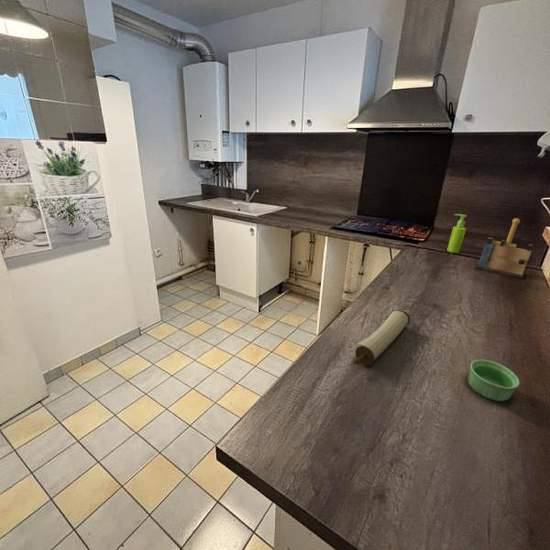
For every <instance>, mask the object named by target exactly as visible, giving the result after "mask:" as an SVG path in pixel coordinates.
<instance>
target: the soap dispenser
mask: <svg viewBox="0 0 550 550" xmlns="http://www.w3.org/2000/svg"><path fill="white" fill-rule="evenodd" d="M454 216H460V218H459V219H458V220H457V223H456V226H455V225H454V226H453V227H452V231H451V234H450V237H449V241H448V245H447V248H446V251H447V252H450V253H454V254H458V253H460V251H461V247H462V244H463V240H464V237H465V234H466V230H467V228H466V227H465V224H466V221H465V218H467V217H468V216H467V214H463V213H454Z"/></svg>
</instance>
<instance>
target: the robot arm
mask: <svg viewBox="0 0 550 550" xmlns="http://www.w3.org/2000/svg"><path fill="white" fill-rule="evenodd" d="M536 145H537V146H538V147H541V149H540V153H539V154H538V155H537V158H541V159H542V158H543V157H544V156H545V154H546V152H545V151H546V150H547V151H549V152H550V129H549V130H548V131H546V132H545V133H544V134H543V135H542V136H541V137H540V138H538V140H537V144H536Z"/></svg>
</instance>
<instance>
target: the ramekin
mask: <svg viewBox="0 0 550 550" xmlns="http://www.w3.org/2000/svg"><path fill="white" fill-rule="evenodd" d="M467 381H468V384H469V386H470V388H472V389H473V390H474V391H475V392H476V393H477V394H479V395H481V396H482V397H485V398H486V399H489V400H493V401H496V402H504V401H508V400H510V398H511V397H512V395H513V394H514V392H515V391H516V389H517V388H518V387H519V386H520V383H521V382H520V379H519V377H518V376H517V374H515V373H514V371H512V370H511V369H510V368H507V367H506V366H504V365H502V364H501V363H498V362H495V361H492V360H487V359H475V360H472V361H471V363H470V365H469V373H468V377H467Z"/></svg>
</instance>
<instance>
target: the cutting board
mask: <svg viewBox="0 0 550 550" xmlns="http://www.w3.org/2000/svg"><path fill="white" fill-rule="evenodd" d="M492 241H494V238H493V237H489V236H488V237H487V240H486V242H485V243H484V246H483V249H482V252H481V256H480V258H479V262H478V263H477V265H476V268H475V269H476V270H481V271H484V272H489V273H494V274H499V275H502V276H507V277H512V278H517V279H521V280H522V279H523V278H524V272H525V270H526V266H527V264H528V262H529V259H530V257H531V254H532V252H533V251H532V249H533V247H534V245H533V244H532V243H529V244H528V245H527V248H526V249H525V248H519V247H516V248H515V247H509V246H503V245H504V243H506V239H501V240H500V242H501V244H500V245H498V244H492Z"/></svg>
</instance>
